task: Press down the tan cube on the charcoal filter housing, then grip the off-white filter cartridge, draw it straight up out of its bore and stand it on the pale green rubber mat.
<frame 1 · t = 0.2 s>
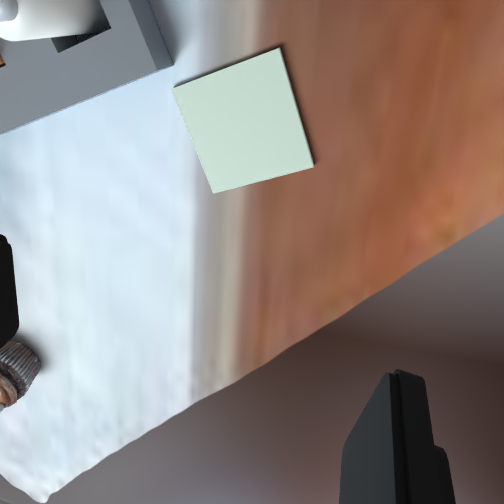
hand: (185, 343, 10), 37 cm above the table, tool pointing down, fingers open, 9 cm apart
cartridge: (90, 3, 43), resting in housing
housing: (46, 26, 45), on the table
mat: (244, 126, 45), on the table
cupcake: (21, 357, 75), on the table
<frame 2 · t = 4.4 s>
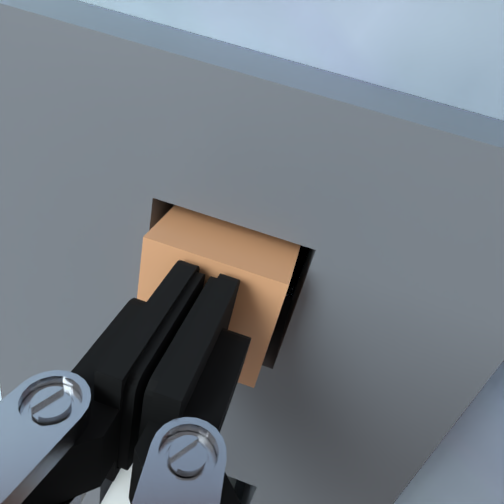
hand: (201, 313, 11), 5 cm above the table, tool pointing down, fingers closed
cartridge: (200, 425, 22), resting in housing
housing: (220, 344, 19), on the table
tan cube: (226, 274, 13), point 3 cm above the table, slide at 1.2 cm, touching gripper
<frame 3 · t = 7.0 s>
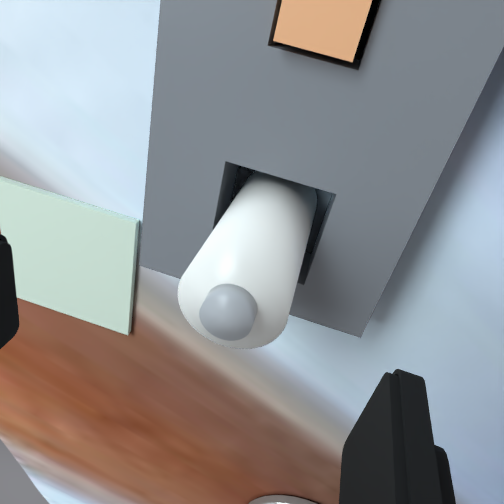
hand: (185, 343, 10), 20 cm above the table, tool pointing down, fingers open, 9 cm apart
cartridge: (278, 200, 29), resting in housing
housing: (302, 114, 26), on the table
tan cube: (329, 4, 21), point 3 cm above the table, slide at 1.5 cm
mat: (70, 259, 37), on the table
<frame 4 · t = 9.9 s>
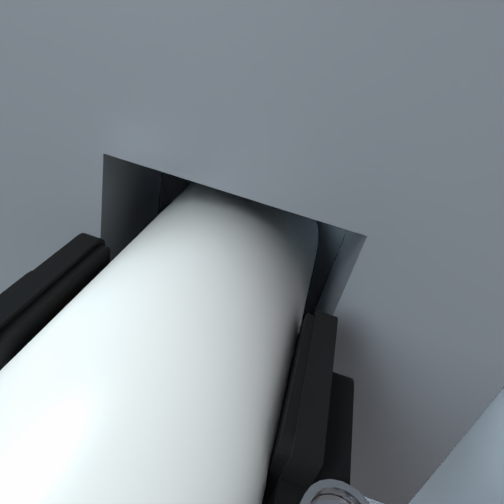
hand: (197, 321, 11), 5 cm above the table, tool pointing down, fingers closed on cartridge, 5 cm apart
cartridge: (245, 234, 15), resting in housing, touching gripper
housing: (288, 55, 12), on the table
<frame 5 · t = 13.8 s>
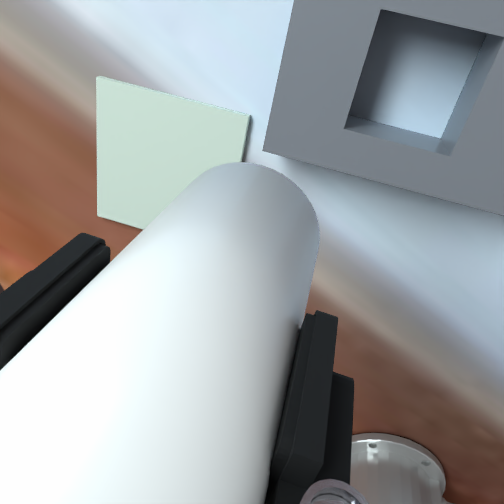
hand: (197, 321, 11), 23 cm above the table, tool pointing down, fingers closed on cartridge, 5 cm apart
cartridge: (246, 233, 15), point 18 cm above the table, touching gripper
mat: (167, 169, 35), on the table
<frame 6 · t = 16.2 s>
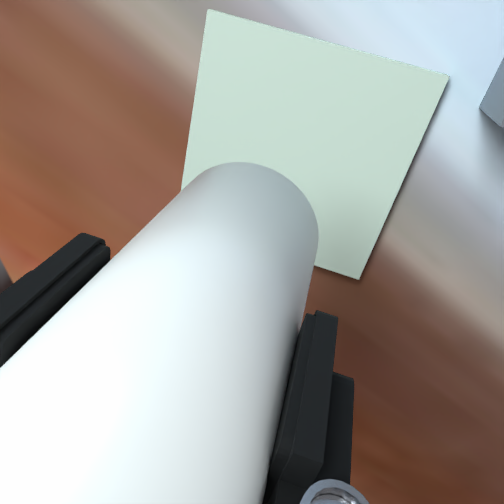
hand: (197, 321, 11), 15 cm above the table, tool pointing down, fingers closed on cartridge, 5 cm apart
cartridge: (245, 233, 15), point 10 cm above the table, touching gripper
mat: (293, 156, 24), on the table
when the fingers open (7 cm above the table, at t = 18.1 s): cartridge drops 1 cm, resting on mat.
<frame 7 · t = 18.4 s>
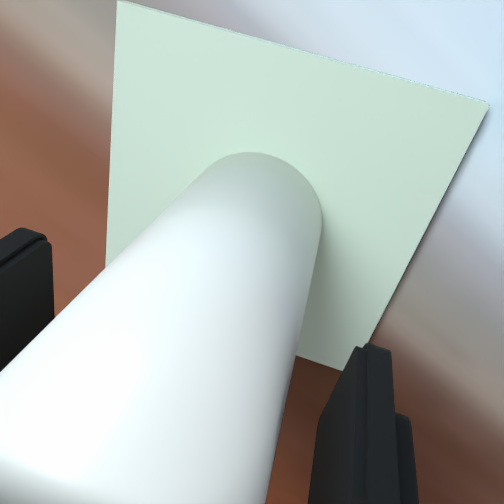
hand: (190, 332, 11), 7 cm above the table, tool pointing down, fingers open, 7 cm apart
cartridge: (253, 218, 16), point 1 cm above the table, touching mat
mat: (257, 211, 17), on the table
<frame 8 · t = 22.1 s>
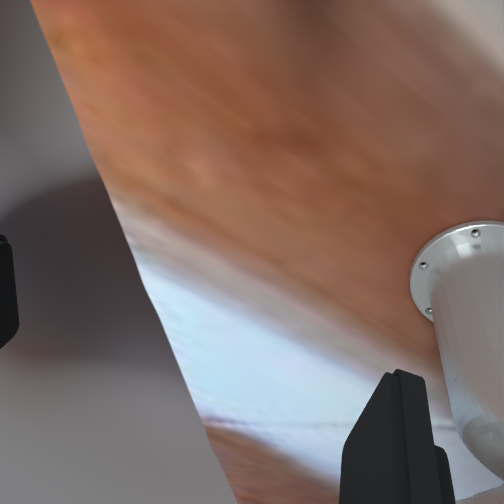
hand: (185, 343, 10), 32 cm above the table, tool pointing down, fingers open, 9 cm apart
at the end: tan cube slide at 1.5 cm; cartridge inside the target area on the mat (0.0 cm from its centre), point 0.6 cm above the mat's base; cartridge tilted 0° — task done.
